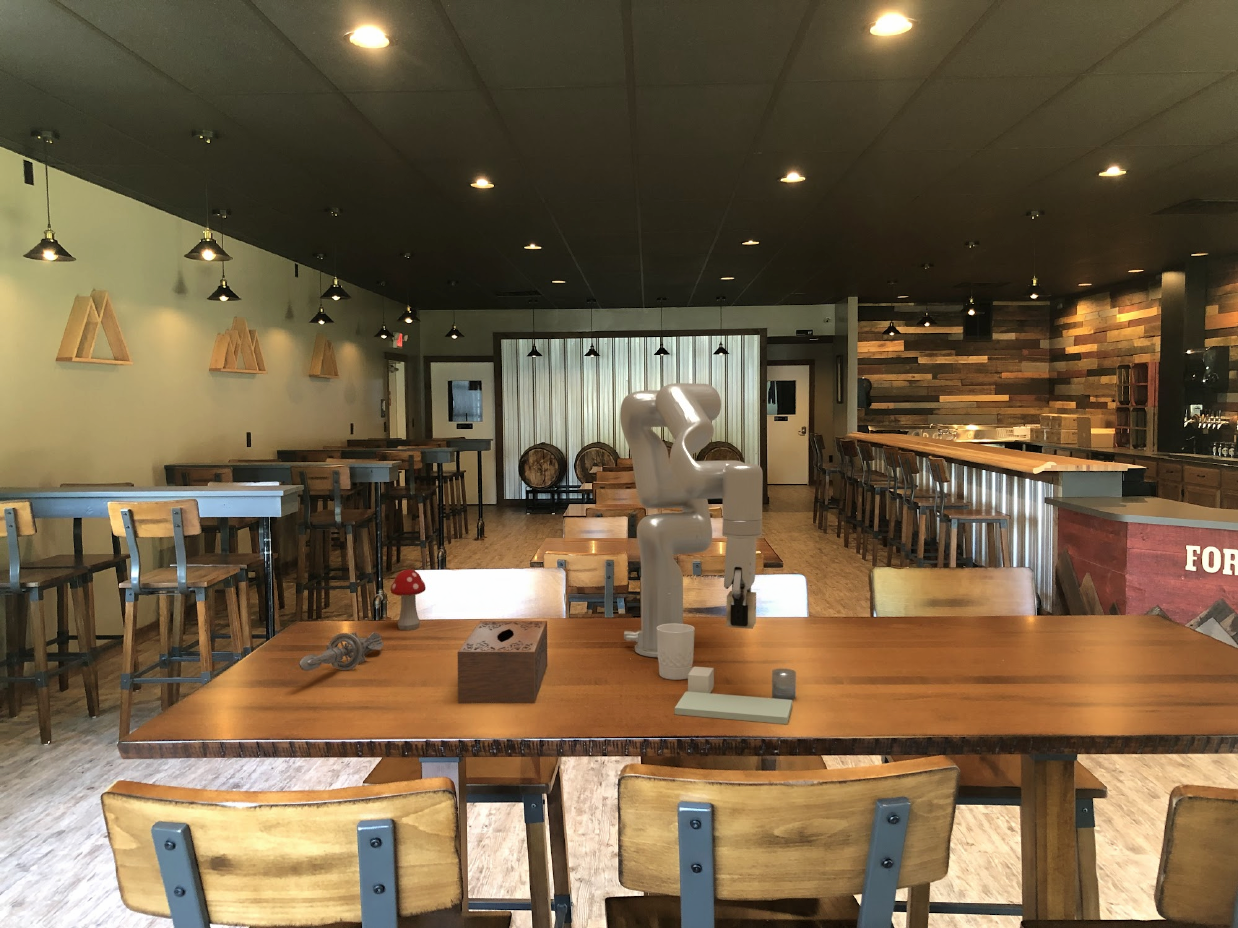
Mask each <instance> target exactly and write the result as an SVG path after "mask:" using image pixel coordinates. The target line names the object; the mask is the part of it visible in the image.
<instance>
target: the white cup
mask: <svg viewBox="0 0 1238 928" xmlns="http://www.w3.org/2000/svg"><path fill="white" fill-rule="evenodd" d="M657 650H658V657H657V659H658V660H657V661H658V674H659V677H660V678H663V679H666V680H673V681H676V680H680V681H681V680H686V679H687V680H688V674H689V673H690V671H691V670H692V668H693V663H694V654H695V653H694V650H695V627H694V626H693V625H690V624H687V623H686V624H685V623H683V624H663V625H659V626H658V627H657Z"/></svg>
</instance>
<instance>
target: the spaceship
mask: <svg viewBox="0 0 1238 928" xmlns="http://www.w3.org/2000/svg"><path fill="white" fill-rule="evenodd" d="M339 644H341V647H340V646H339ZM383 646H384V642H383V640H382V635H381V634H380V633H377V632H375V631H373V632H372V633H371V634H370V635H369V636H367V637H359V635H358V633H357V632H356V631H354V632H352V633H348V632H342V633H338V634H336V635H335V636H333V638H331V640H330V641H329V643H328V644H327V645H326V646H325V649H326V650H324V651H323V652H322V653H321V654H319V655H318V654H315V653H312V654H309V655H308V654H307V655H305V656H303V657H302V658H301V659H300V661H299V664H298V666H299V667H300V669H301V670H302V671H306V672H309V671H313V670H316V669H319V667H320V666H321V665H322V664H326V665H329V664H331V666H332V667H333V668H335V669H337V670H340V671H350V670H353V669H355V668H356V667H357V665H359V664H361V663H364V662H366V661H367V659H366V656H367V655H368V654H369V653H371V652H372V651H373V650H378V651H381V650H382V648H383ZM344 658H345V660H346V661H343V660H344Z"/></svg>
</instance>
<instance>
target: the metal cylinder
mask: <svg viewBox="0 0 1238 928" xmlns="http://www.w3.org/2000/svg"><path fill="white" fill-rule="evenodd" d="M771 673H772V674H771V675H772V676H771V679H772V680H771V681H772V682H771V687H772V689H771V693H772V694H771V696H772V697H771V698H774V699H786V700H792V702H793V701H795V700H796V697H797V694H796V689H797V685H796V683H797V679H796V677H797V671H795V670H793V669H791V668H774V669H773V670H772V672H771Z"/></svg>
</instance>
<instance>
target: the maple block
mask: <svg viewBox="0 0 1238 928" xmlns="http://www.w3.org/2000/svg"><path fill="white" fill-rule="evenodd" d="M741 593H742V594H743V592H741ZM731 597H732V590H730V591H729V592H728V594H727V595H726V617H725V618H726V619H725V620H726V621H725V622H726V624H725V625H726V628H733V629H735V628H736V629H751V630H753V629H754V627H755V625H756V623H757V592H756V591H751V592H747V602H746V605H748V625H747V626H732V625H731Z"/></svg>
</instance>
